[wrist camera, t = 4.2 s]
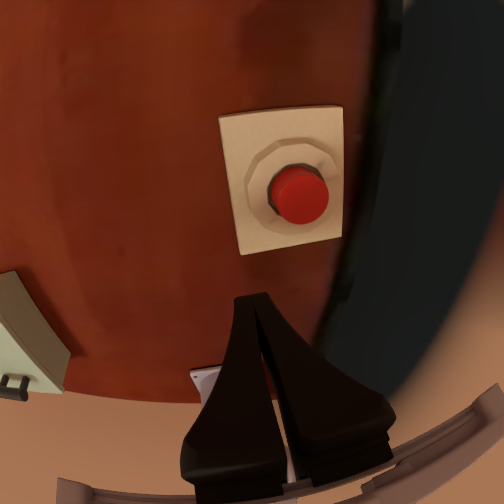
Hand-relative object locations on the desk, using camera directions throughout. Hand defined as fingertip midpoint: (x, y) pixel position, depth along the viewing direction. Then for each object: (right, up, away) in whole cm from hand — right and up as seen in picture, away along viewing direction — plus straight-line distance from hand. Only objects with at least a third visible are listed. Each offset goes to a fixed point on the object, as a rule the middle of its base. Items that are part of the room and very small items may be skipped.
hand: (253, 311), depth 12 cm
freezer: (-27, -5, +11) cm, 30 cm away
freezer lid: (-26, -8, +7) cm, 28 cm away
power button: (+3, +6, +6) cm, 9 cm away
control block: (+2, +8, +8) cm, 11 cm away
